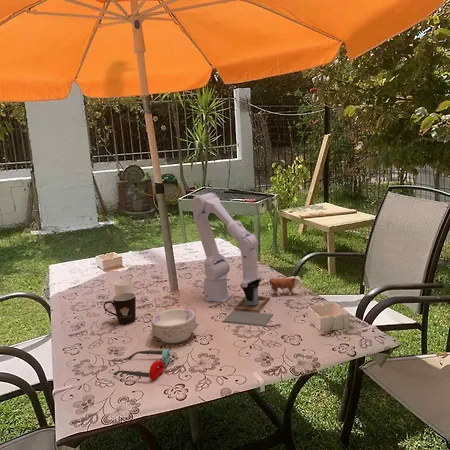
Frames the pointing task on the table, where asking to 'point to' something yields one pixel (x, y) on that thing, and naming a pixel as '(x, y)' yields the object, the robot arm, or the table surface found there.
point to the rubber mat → (248, 318)
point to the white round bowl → (174, 325)
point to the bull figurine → (285, 284)
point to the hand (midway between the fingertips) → (251, 298)
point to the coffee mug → (124, 307)
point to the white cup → (124, 286)
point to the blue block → (255, 298)
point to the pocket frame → (239, 308)
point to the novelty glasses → (154, 367)
